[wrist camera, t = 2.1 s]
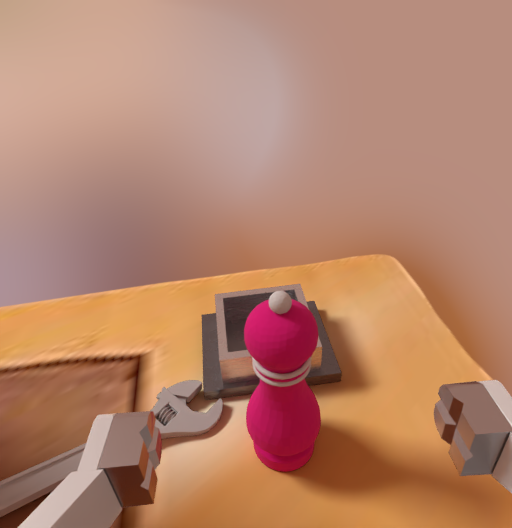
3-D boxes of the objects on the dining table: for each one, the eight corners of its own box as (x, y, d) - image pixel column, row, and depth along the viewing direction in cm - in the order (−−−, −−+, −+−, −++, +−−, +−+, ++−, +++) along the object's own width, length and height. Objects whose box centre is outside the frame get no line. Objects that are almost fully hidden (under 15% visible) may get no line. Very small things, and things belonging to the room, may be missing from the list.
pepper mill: (241, 469, 40) (219, 320, 28) (257, 406, 45) (245, 261, 34) (315, 484, 38) (324, 333, 26) (322, 417, 44) (332, 269, 32)
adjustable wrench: (-36, 537, 35) (-44, 531, 34) (-35, 466, 39) (-42, 459, 38) (227, 426, 45) (228, 419, 43) (206, 377, 49) (206, 370, 47)
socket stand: (205, 400, 46) (198, 368, 43) (203, 322, 57) (197, 292, 54) (340, 381, 48) (343, 348, 44) (313, 308, 58) (315, 278, 55)
